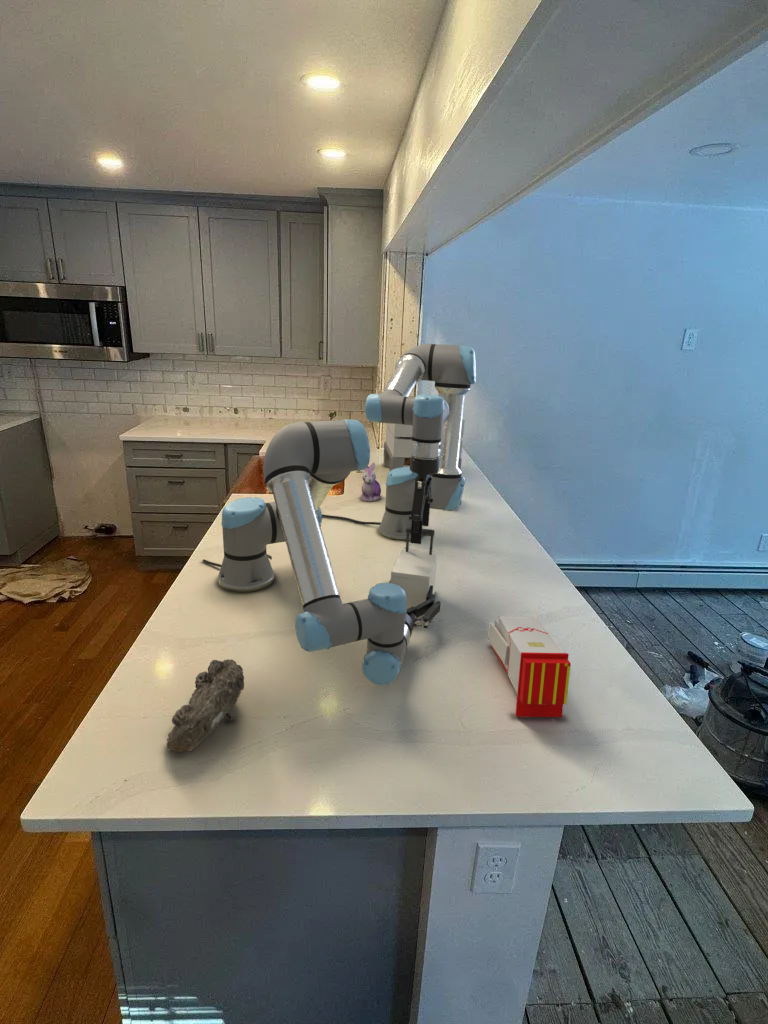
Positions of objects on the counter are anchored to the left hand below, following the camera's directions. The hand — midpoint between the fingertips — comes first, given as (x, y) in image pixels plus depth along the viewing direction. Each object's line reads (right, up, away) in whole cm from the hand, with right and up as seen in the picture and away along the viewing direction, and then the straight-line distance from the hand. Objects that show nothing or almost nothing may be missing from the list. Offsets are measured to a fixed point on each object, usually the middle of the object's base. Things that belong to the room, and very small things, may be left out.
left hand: (411, 587), depth 146 cm
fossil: (-40, -20, -38) cm, 59 cm away
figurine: (-13, +25, +89) cm, 93 cm away
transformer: (+10, +38, +128) cm, 134 cm away
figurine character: (+20, +22, +85) cm, 90 cm away
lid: (+1, +5, +3) cm, 6 cm away
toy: (+23, -17, -22) cm, 36 cm away
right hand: (+3, +14, +6) cm, 15 cm away
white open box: (+1, -5, +6) cm, 8 cm away
